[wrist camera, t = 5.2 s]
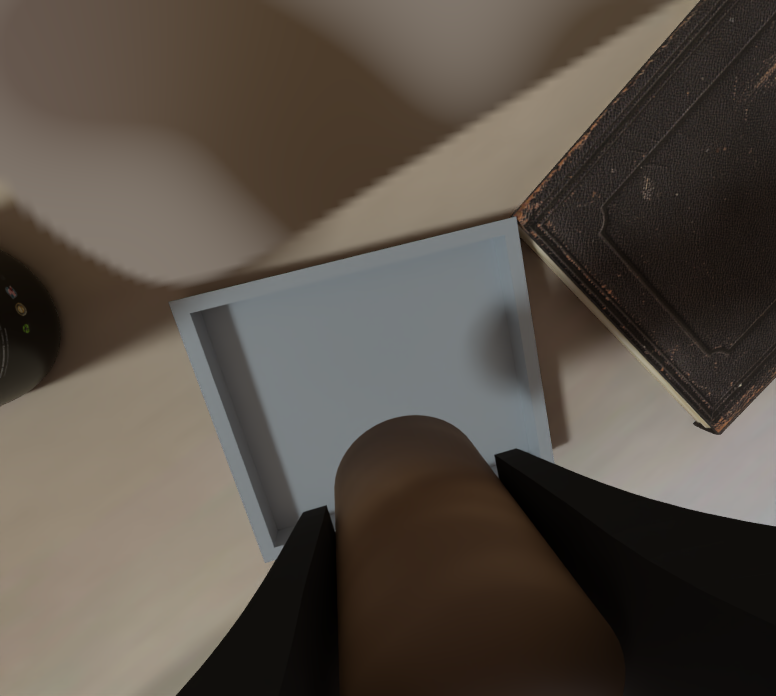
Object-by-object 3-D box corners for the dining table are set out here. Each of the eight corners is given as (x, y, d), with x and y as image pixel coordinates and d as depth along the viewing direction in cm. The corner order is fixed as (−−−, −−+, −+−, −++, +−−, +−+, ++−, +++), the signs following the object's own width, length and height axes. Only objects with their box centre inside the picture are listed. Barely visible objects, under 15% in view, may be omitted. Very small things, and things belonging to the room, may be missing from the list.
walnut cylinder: (470, 398, 11) (618, 551, 6) (490, 527, 12) (631, 764, 7) (317, 437, 11) (305, 645, 5) (352, 566, 12) (376, 854, 6)
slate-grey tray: (498, 221, 18) (516, 216, 16) (537, 456, 21) (556, 474, 19) (185, 298, 17) (168, 302, 15) (270, 536, 20) (265, 563, 18)
